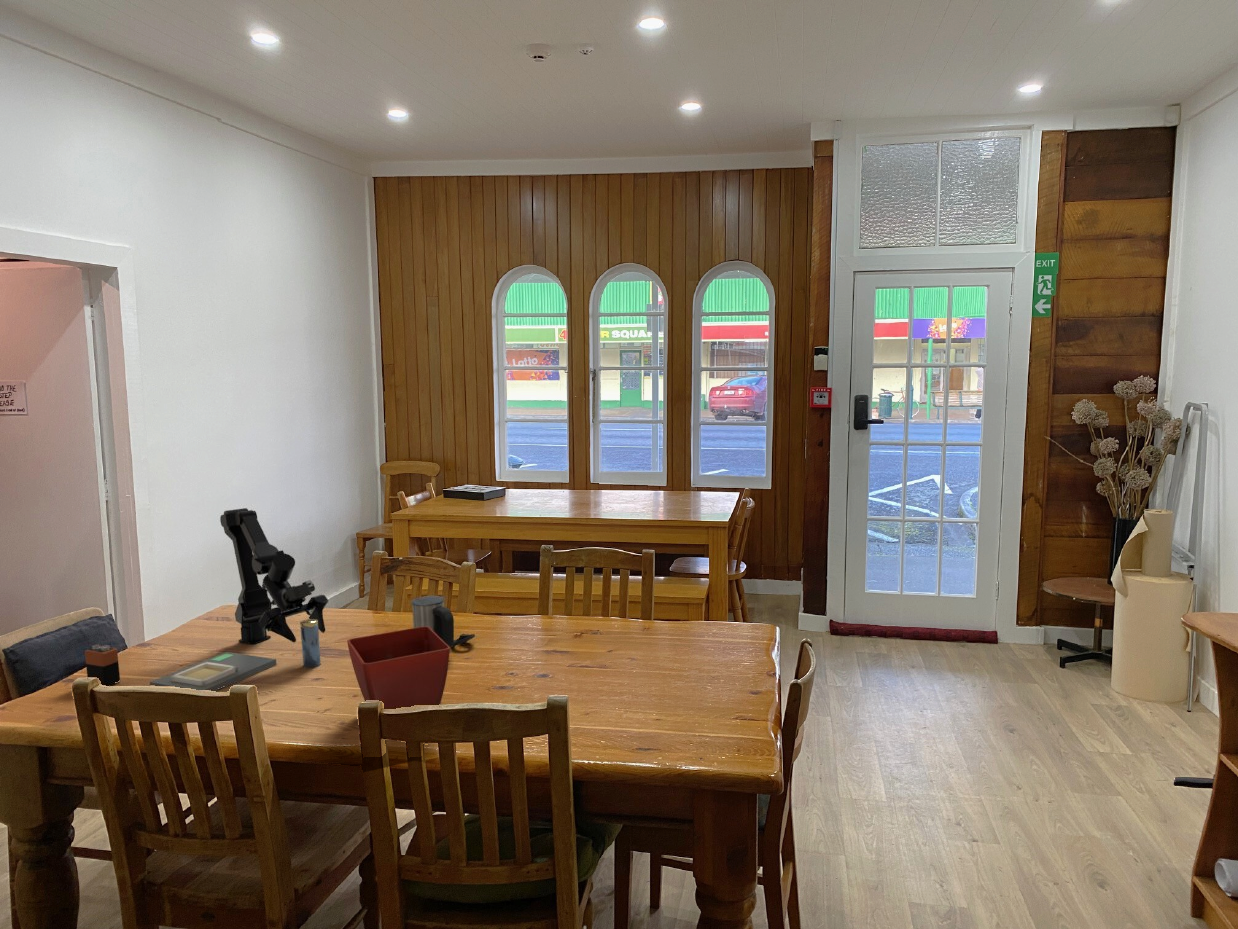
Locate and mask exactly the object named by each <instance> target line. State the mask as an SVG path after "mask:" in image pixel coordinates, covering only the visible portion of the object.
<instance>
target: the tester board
mask: <svg viewBox="0 0 1238 929" xmlns="http://www.w3.org/2000/svg"><path fill="white" fill-rule="evenodd" d="M276 665H277V659H276V658H271V657H264V656H258V655H250V654H243V653H237V652H231V651H225V652H222V653H220V654H218V655H217V654H216V655H215V656H212V657H210V658H207V659H205V660H202V661H199V662H197V663H194V664H191V665H189V666H187V667H184V668H182V669H180V670H177V671H174V672H171V673H169V674H166V675H164V676H161V677H159V678H156V679H153V680H151V681H149V686H150V685H155V686H175V687H180V688H191V689H196V690H211V691H215V692H217V691H218V690H217V689H218V688H221V687H223V686H226V687H228V686H227V685H229V684H231V685H233V684H236V683H238V682H240V681H242V680H245V679H247V678H249V677H251V676H253V675H256V674H258V673H260V672H263V671H265V670H268V669H269V668H272V667H274V666H276ZM229 686H230V685H229Z"/></svg>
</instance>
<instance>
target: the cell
mask: <svg viewBox="0 0 1238 929" xmlns="http://www.w3.org/2000/svg"><path fill="white" fill-rule="evenodd" d="M299 624H300V636H301V651H302V652H301V653H302V664H303V668H304V669H305V668H306V669H312V668H317V667H319V666H321V665H322V664H321V663H322V661H321V646H320V635H319V634H320V633H319V631H320V630H319V629H318V620H317V619H309V618H307V619H304V620H301V621H300V623H299Z"/></svg>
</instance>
